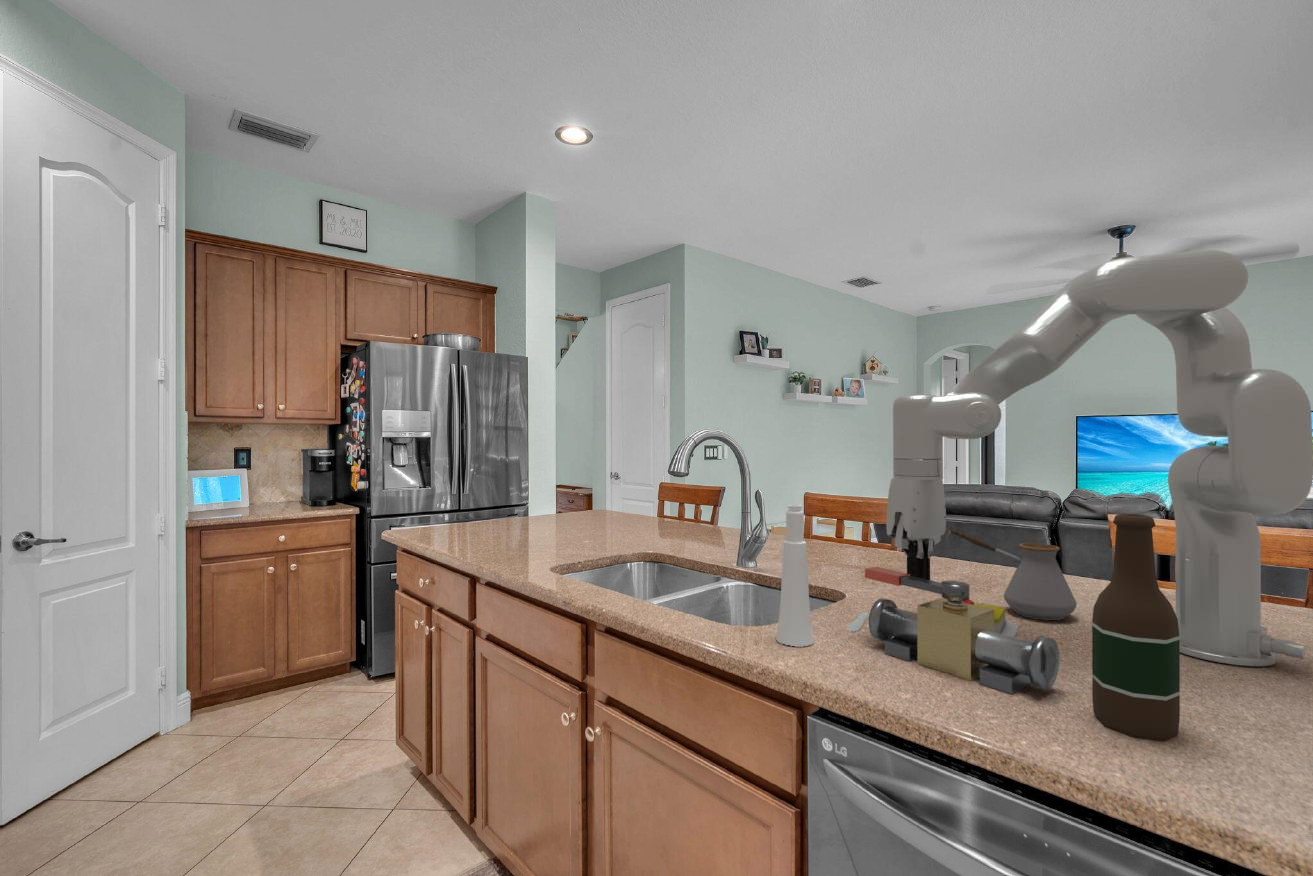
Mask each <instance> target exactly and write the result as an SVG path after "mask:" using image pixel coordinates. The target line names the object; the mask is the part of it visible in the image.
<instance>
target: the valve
mask: <svg viewBox="0 0 1313 876" xmlns="http://www.w3.org/2000/svg"><path fill="white" fill-rule="evenodd" d="M939 598H940V599H937V598H936V599H937V600H936V599H934V600H931V601H928V602H924V603H921V604H918V605H917V612H914V611H909V610H906V609H902V608H898V606H897V604H896V603H895V601H893V600H891V599H887V598H883V597H882V598H881V597H880V598H878V599H877V600H875V601H874V603H873V605H872V607H871V608H870V611H869V613H868V629H869V633H870V634H871V636H872V637H873V638H874V639H876V640H880V641H883V642H884V654H885V655H887V654H888V656H892V657H894V656H895V657H894V658H897V659H900V658H901V660H903V661H908V662H912V661H914V660H916V659H917V665H919V666H922V667H927V668H929V669H933V670H936V671H938V670H939V671H938V672H941V673H945V674H948V675H951V676H954V677H958V678H960V679H963V680H967V681H970V682H971V681H974V680H975V679H978V678H979V685H983V686H985V687H988V688H991V689H994V690H998V691H1001V692H1003V693H1007V694H1009V695H1014V694H1015V693H1017V692H1018V691H1020V690H1022V689H1024V688H1025V687H1027V686H1029V685H1031V684H1032V685H1033V686H1034V687H1036V688H1039V689H1043V690H1046V691H1048V690H1050V689H1051V688H1052V687H1053V686H1054V684H1055V682H1056V680H1057V678H1058V674H1059V667H1060V650H1059V646H1058V643H1057V641H1056V640H1055V639H1054V638H1053V637H1047V636H1043V635H1039V636H1037V637H1035V639H1034V641H1031V640H1027V639H1023V638H1019V637H1016V636H1015V637H1011V636H1007V635H1003V634H999V633H995V632H994V609H990V608H985V607H981V606H976V605H972V604H967V603H963V601H954V600H948V599H945V598H943V597H939Z"/></svg>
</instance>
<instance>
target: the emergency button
mask: <svg viewBox="0 0 1313 876" xmlns="http://www.w3.org/2000/svg"><path fill="white" fill-rule="evenodd" d="M940 598H941V597H939V598H936V599H935V600H937V599H940ZM963 603H967V604H972V605H976V606H981V607H985V608H990V609H994V632H995V633H999V634H1003V635H1007V636H1011V637H1015V638H1016V635H1017V633H1018V631H1019V629H1020V624H1019V623H1015V622H1010V621H1006V611H1005V608H1004V607H1002V606H996V605H991V604H990V605H989V604H983V603H982V604H981V603H976V602H974V601H973V600H971V599H969V600H967V601H963ZM1017 630H1018V631H1017Z"/></svg>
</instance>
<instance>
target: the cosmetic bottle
mask: <svg viewBox="0 0 1313 876" xmlns="http://www.w3.org/2000/svg"><path fill="white" fill-rule="evenodd" d="M787 509H788V510H786V511H785V529H786V530H785V540H784V541H783V543H782V544H783V545H782V547H783V548H782V560H781V561H782V563H781V583H780V584H781V585H780V588H781V590H780V604H779V612H778V613H779V616H778V624H777V629H776V630H777V631H776V635H775V641H777V642H778V643H779V644H781V645H783V644H785V645H784V646H787V645H790V646H789V647H792V646H795V647H794V648H804V646H805V647H809V645H810V646H812V645H813V644H814V643H815V640H814V639H815V637H814V631H813V625H812V619H811V609H810V608H811V606H810V592H809V591H810V590H809V588H810V587H809V573H808V572H809V571H808V570H809V566H808V548H807V542H806V541H805V540H804V537H805V536H804V530H805V529H804V526H805V524H804V523H805V522H804V521H805V520H804V519H805V518H804V516H805V515H804V514H805V513H804V511H803V510H802V509H803V505H801V504H788V505H787Z"/></svg>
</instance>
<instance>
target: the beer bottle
mask: <svg viewBox="0 0 1313 876" xmlns="http://www.w3.org/2000/svg"><path fill="white" fill-rule="evenodd" d="M1112 523H1113V524H1114V525H1115V527H1116V530H1115V541H1114V543H1115V544H1114V557H1113V566H1112V567H1113V568H1112V574H1111V578H1110V583H1108V584H1107V586H1105V588H1104V589H1103V590H1102V591H1101V592H1100V593H1099V595H1098V597H1097V599H1096V601H1095V603H1094V605H1093V609H1092V621H1091V626H1092V627H1091V632H1092V634H1091V637H1092V638H1091V642H1092V643H1091V644H1092V645H1091V648H1092V649H1091V651H1092V653H1091V658H1092V659H1091V666H1092V668H1091V669H1092V670H1091V671H1092V673H1091V675H1092V679H1091V681H1092V683H1091V684H1092V685H1091V686H1092V692H1091V693H1092V696H1091V697H1092V707H1093V708H1092V710H1093V714H1094V716H1095V717H1096V718H1097V719H1098V720H1099V721H1100V723H1101V724H1103V726H1104V727H1107V728H1109V729H1112V730H1114V731H1117V732H1119V733H1121V734H1124V735H1127V736H1130V737H1133V738H1140V739H1147V740H1154V741H1155V740H1156V741H1162V742H1165V741H1166V740H1169V739H1171V738H1173V737H1175V736H1177V734H1178V733H1179V730H1180V718H1181V717H1180V716H1181V715H1180V714H1181V709H1180V708H1181V706H1180V705H1181V704H1180V703H1181V697H1180V696H1181V695H1180V692H1181V691H1180V690H1181V689H1180V687H1181V685H1180V682H1181V681H1180V679H1181V678H1180V677H1181V676H1180V669H1181V668H1180V667H1181V666H1180V661H1181V660H1180V658H1181V657H1180V636H1179V626H1178V619H1177V616H1176V611H1175V610H1174V608H1173V606H1172V603H1171V602H1170V601H1169V600H1168V598H1167V597H1166V595H1164V593H1163V591H1161V590H1160V586H1159V583H1158V582H1159V581H1158V578H1157V572H1156V562H1155V561H1156V560H1155V550H1154V549H1155V547H1154V540H1153V539H1154V538H1153V537H1154V536H1153V535H1154V534H1153V528H1155V527H1156V523H1155V520H1154V517H1151V516H1149V515H1145V514H1139V513H1119V514H1117V515H1114V519H1113V522H1112Z"/></svg>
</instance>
